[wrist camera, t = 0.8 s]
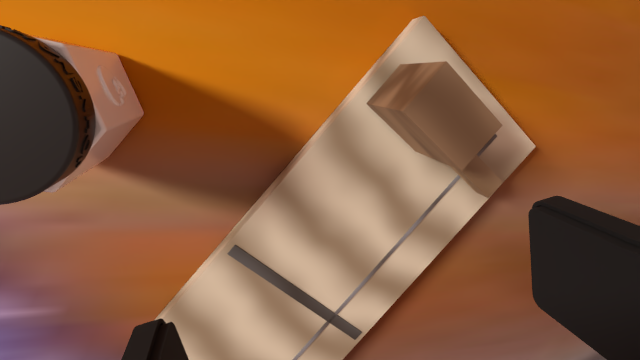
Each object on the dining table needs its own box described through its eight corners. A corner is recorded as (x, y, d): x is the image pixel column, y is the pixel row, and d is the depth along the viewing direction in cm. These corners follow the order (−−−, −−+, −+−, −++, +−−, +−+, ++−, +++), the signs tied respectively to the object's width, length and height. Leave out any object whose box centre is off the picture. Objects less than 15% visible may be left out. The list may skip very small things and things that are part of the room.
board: (413, 19, 32) (424, 15, 30) (520, 142, 37) (536, 146, 35) (139, 337, 34) (133, 353, 32) (277, 411, 39) (280, 429, 37)
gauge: (399, 64, 30) (446, 61, 23) (495, 166, 34) (557, 188, 28) (366, 103, 30) (403, 111, 24) (465, 200, 34) (519, 229, 28)
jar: (160, 139, 30) (115, 179, 19) (54, 175, 29) (-62, 239, 18) (106, 21, 27) (14, -18, 16) (-13, 56, 26) (-201, 42, 15)
